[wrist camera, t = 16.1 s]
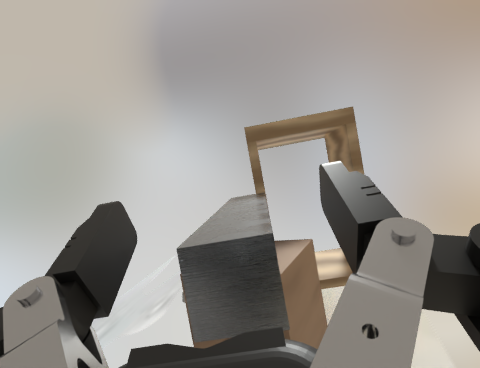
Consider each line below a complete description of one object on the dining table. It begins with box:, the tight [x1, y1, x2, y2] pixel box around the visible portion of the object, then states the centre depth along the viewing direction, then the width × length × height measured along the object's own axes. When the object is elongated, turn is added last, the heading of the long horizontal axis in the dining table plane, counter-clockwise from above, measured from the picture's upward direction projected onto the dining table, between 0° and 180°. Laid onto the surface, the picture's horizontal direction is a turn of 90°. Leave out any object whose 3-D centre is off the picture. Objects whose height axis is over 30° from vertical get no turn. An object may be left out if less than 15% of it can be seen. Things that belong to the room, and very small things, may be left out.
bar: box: [177, 192, 290, 343], centre depth 22 cm, size 22×4×4 cm, turn 176°
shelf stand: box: [245, 107, 364, 289], centre depth 45 cm, size 16×14×34 cm
